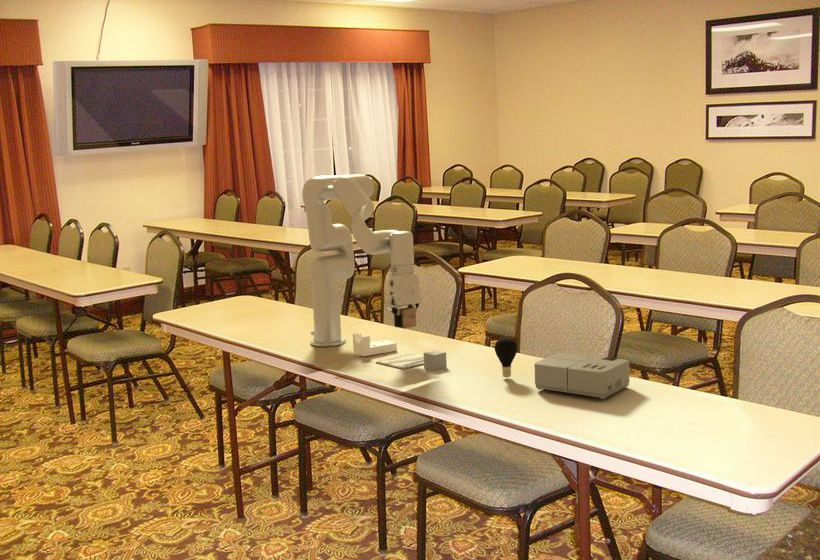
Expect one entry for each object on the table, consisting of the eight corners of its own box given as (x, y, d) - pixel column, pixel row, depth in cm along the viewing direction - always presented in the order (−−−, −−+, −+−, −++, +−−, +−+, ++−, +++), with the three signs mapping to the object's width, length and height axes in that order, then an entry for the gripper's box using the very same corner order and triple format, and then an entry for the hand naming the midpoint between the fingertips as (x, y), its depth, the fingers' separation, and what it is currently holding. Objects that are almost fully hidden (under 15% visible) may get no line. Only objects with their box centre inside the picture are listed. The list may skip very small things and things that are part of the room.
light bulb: (522, 377, 257) (522, 337, 255) (506, 381, 252) (505, 341, 251) (506, 373, 262) (505, 334, 260) (490, 377, 258) (489, 337, 256)
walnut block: (394, 326, 281) (393, 308, 281) (406, 324, 284) (405, 306, 284) (404, 328, 278) (403, 310, 277) (416, 326, 281) (415, 307, 280)
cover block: (423, 352, 272) (434, 355, 268) (435, 350, 275) (446, 352, 271) (424, 368, 273) (434, 370, 269) (435, 365, 276) (446, 367, 272)
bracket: (364, 359, 290) (363, 336, 289) (353, 355, 296) (352, 333, 295) (397, 353, 297) (396, 331, 296) (386, 349, 303) (385, 328, 302)
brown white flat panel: (375, 362, 282) (375, 361, 282) (412, 354, 292) (412, 353, 292) (403, 369, 272) (403, 368, 272) (440, 360, 282) (440, 359, 282)
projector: (604, 400, 230) (604, 372, 229) (532, 389, 244) (532, 362, 243) (631, 386, 243) (631, 359, 242) (561, 376, 257) (561, 351, 256)
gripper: (389, 273, 270) (392, 330, 273) (430, 267, 281) (432, 322, 284) (374, 272, 276) (377, 328, 278) (415, 266, 287) (417, 320, 289)
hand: (405, 324), depth 281 cm, fingers closed on walnut block, 4 cm apart
